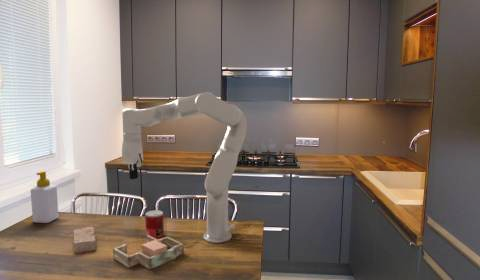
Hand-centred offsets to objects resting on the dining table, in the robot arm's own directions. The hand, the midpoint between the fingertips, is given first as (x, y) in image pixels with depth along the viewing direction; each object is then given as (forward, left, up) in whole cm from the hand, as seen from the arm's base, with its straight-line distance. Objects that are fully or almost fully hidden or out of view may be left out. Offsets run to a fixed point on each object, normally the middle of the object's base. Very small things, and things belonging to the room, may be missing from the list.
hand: (133, 178), depth 157 cm
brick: (+19, -10, -28) cm, 35 cm away
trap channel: (+7, +20, -27) cm, 34 cm away
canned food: (-6, +6, -27) cm, 29 cm away
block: (+7, +24, -27) cm, 37 cm away
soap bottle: (+19, -52, -27) cm, 62 cm away
